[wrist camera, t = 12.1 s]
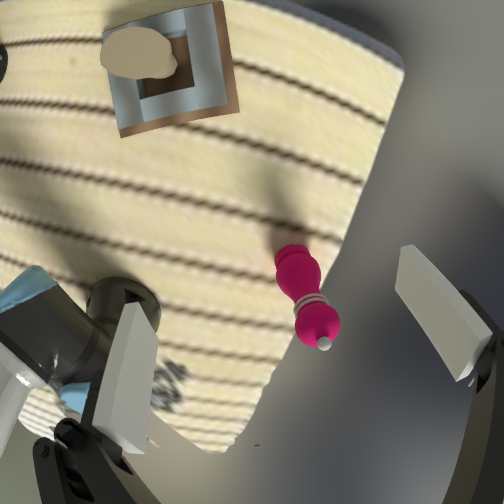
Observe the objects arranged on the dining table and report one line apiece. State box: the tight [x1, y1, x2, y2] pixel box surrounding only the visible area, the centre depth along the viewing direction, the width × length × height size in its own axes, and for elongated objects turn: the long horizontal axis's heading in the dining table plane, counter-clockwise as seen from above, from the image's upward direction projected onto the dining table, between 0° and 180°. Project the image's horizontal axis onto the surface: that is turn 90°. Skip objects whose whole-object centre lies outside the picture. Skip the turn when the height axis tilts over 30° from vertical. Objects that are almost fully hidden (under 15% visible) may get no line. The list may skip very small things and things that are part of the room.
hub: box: [102, 1, 240, 138], centre depth 30 cm, size 17×17×5 cm
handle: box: [100, 27, 178, 79], centre depth 25 cm, size 5×6×15 cm
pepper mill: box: [275, 245, 340, 350], centre depth 41 cm, size 7×7×20 cm
